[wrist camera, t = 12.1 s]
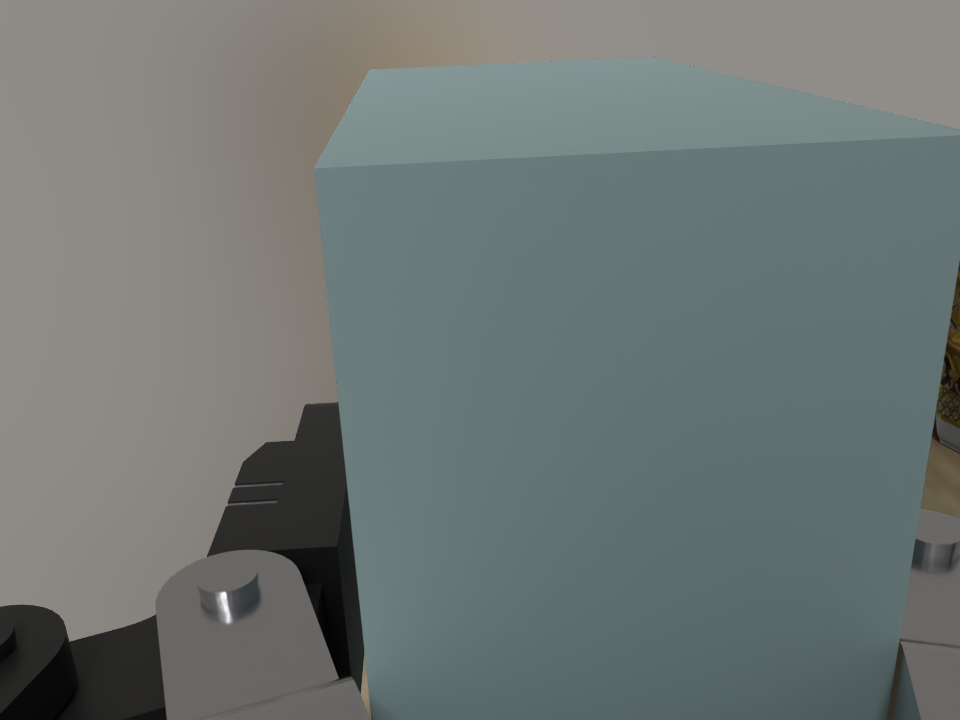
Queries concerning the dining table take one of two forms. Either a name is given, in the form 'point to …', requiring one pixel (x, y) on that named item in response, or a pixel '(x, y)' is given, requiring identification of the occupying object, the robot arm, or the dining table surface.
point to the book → (633, 387)
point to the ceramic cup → (951, 381)
